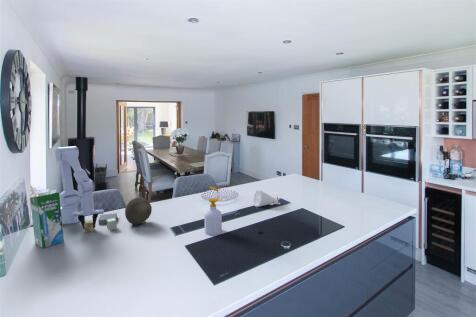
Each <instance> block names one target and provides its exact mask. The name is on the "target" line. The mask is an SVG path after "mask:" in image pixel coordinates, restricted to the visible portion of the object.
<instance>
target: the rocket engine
mask: <svg viewBox="0 0 476 317" xmlns="http://www.w3.org/2000/svg"><path fill="white" fill-rule="evenodd" d="M280 199H281V198H280V197H279V195H277V194H276V195H275V196H272V195H270V194H268V193H266V192H264V191H262V190H260V189H257V190H256V191H255V192H254V194H253V205H254V207H257V208H258V207H263V206H268V205H269V206H273V205H281V202H279V201H280Z"/></svg>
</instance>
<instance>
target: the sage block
mask: <svg viewBox="0 0 476 317" xmlns="http://www.w3.org/2000/svg"><path fill="white" fill-rule="evenodd" d="M106 221H107V224H106V229H107V230H108V231H109V230H110V231H113V229H114V230H117V229H118V225H117V223H118V222H117V220H116V219H115V218H112V219H107V220H106Z"/></svg>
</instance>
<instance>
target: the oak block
mask: <svg viewBox="0 0 476 317" xmlns="http://www.w3.org/2000/svg"><path fill="white" fill-rule="evenodd" d="M84 228H85V229H84V233H92V232H94V230H95V228H93V219H91V220H89V219H88V220H85V223H84Z"/></svg>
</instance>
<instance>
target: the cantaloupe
mask: <svg viewBox="0 0 476 317" xmlns="http://www.w3.org/2000/svg"><path fill="white" fill-rule="evenodd" d="M152 209H153V208H152V205H151V203H150V202H149V200H148V199H146V198H144V197H135V198H133V199H130V200H129V201H128V202H127V204H126V206H125V209H124V216H125V219H126V221H127V222H128V223H129V224H131V225H133V226H139V225H142V224H143V223H146V222H145V221H148V219H149V217H151V214H152Z"/></svg>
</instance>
